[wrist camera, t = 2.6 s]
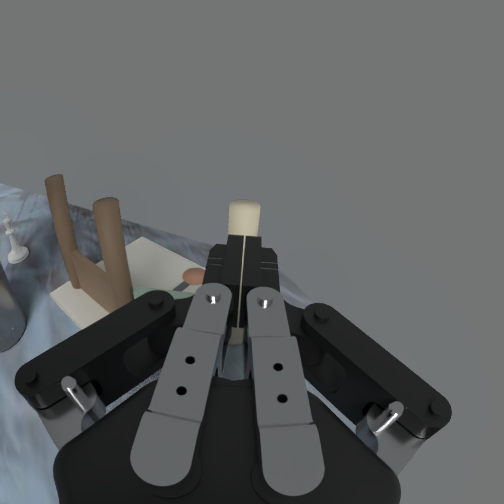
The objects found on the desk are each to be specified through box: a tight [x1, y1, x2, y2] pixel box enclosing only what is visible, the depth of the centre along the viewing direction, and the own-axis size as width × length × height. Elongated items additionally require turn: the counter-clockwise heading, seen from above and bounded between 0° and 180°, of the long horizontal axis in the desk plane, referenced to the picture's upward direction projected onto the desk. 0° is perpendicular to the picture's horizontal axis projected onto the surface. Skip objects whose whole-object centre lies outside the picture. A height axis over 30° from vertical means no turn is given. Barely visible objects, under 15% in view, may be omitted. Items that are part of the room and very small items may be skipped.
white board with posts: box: [45, 174, 206, 330], centre depth 36 cm, size 20×20×18 cm
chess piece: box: [3, 209, 29, 264], centre depth 41 cm, size 5×5×10 cm
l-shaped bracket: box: [133, 199, 260, 345], centre depth 30 cm, size 13×3×17 cm, turn 89°
